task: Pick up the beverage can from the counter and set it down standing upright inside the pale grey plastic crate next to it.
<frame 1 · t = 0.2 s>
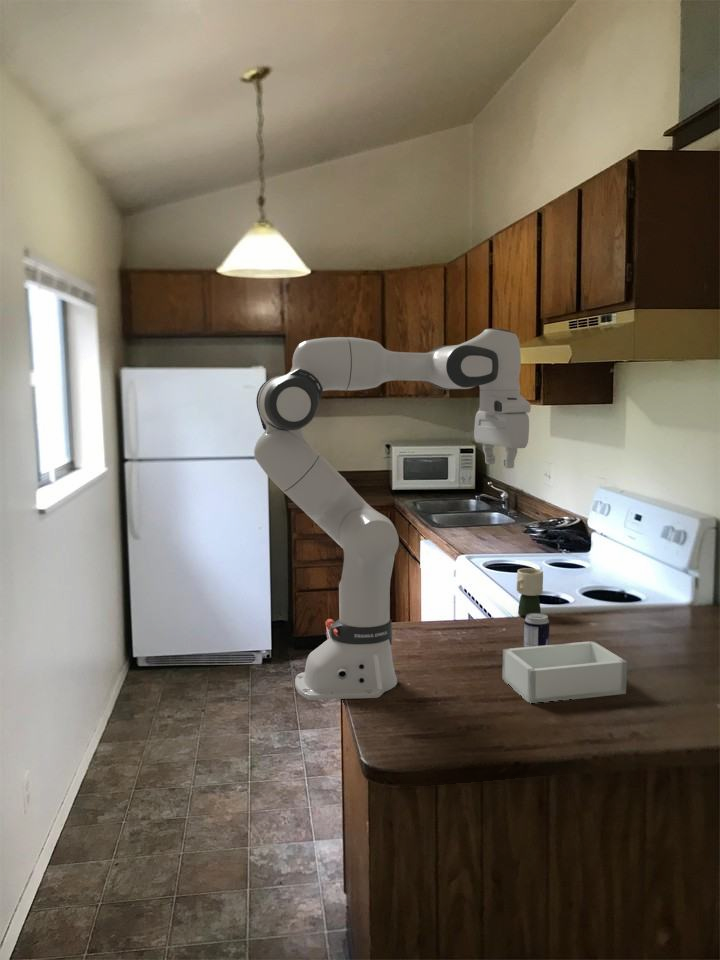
hand: (499, 465, 177), 47 cm above the table, tool pointing down, fingers open, 8 cm apart
beverage can: (536, 666, 185), on the table
crate: (562, 686, 173), on the table
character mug: (529, 616, 225), on the table
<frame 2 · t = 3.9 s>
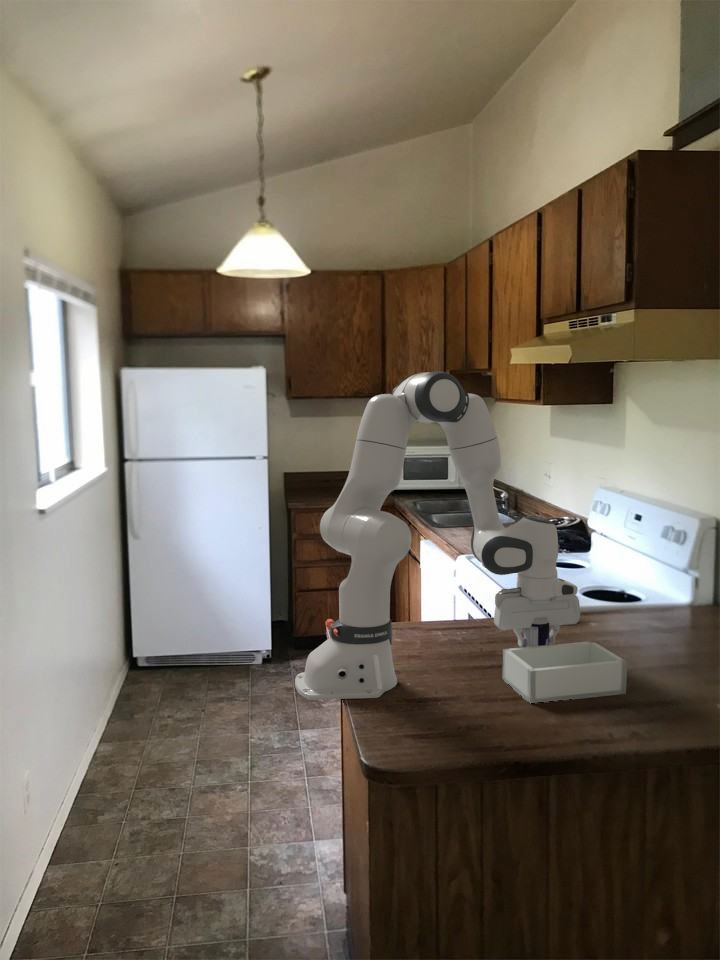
hand: (536, 644, 185), 5 cm above the table, tool pointing down, fingers closed on beverage can, 6 cm apart
beverage can: (535, 666, 185), on the table, touching gripper
everything else where it was.
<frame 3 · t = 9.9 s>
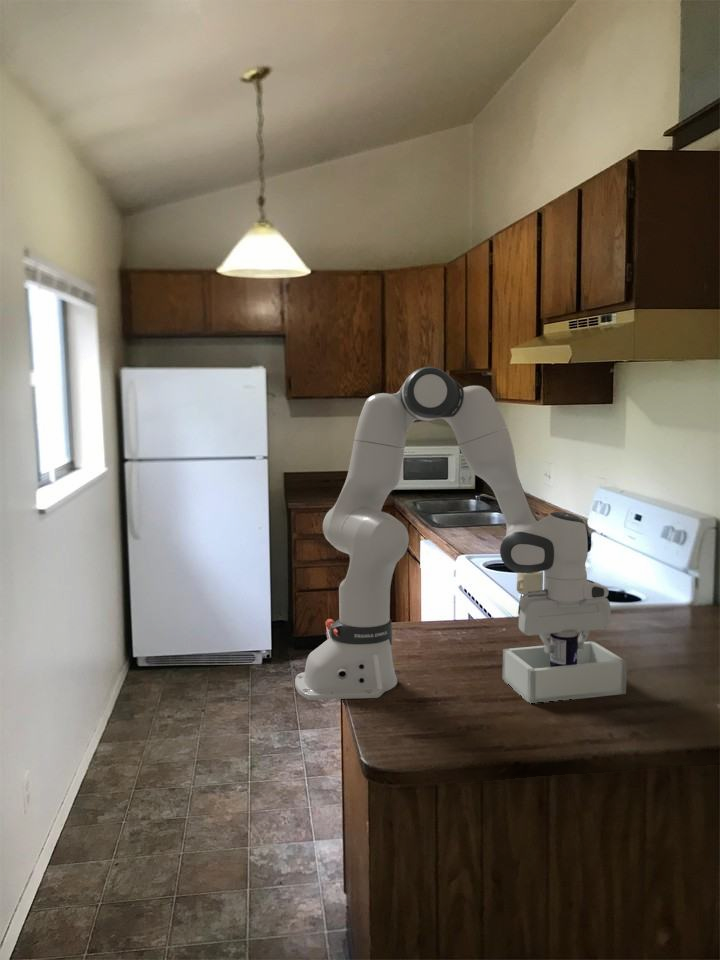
hand: (563, 650, 172), 8 cm above the table, tool pointing down, fingers closed on beverage can, 6 cm apart
beverage can: (563, 682, 173), point 1 cm above the table, touching crate, gripper
everything else where it was.
when the fingers open (8 cm above the table, at t = 10.9 s): beverage can stays where it is, resting on crate.
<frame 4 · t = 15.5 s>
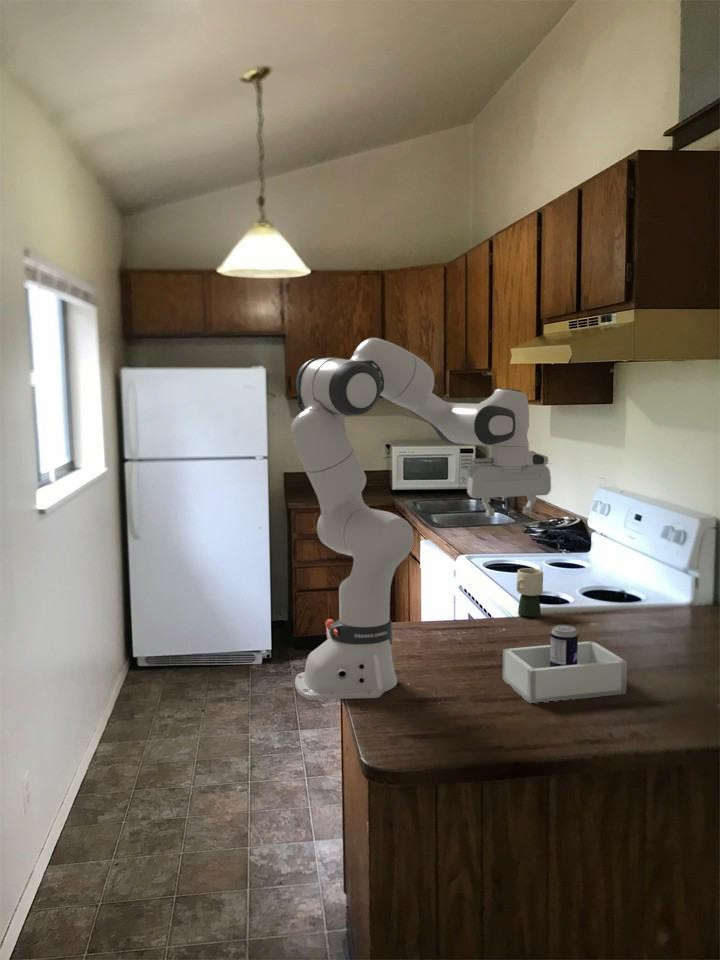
hand: (508, 515, 190), 34 cm above the table, tool pointing down, fingers open, 8 cm apart
beverage can: (563, 682, 173), point 1 cm above the table, touching crate
everything else where it was.
at the end: beverage can inside the target area on the crate (0.1 cm from its centre), point 0.8 cm above the crate's base; beverage can tilted 0°; the gripper is holding nothing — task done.
